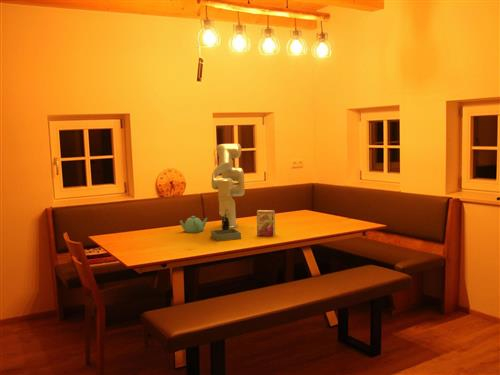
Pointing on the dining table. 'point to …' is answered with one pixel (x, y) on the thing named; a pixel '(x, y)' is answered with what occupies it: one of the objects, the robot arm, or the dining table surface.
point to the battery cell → (223, 225)
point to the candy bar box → (265, 223)
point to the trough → (225, 234)
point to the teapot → (193, 225)
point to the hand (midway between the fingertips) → (225, 226)
